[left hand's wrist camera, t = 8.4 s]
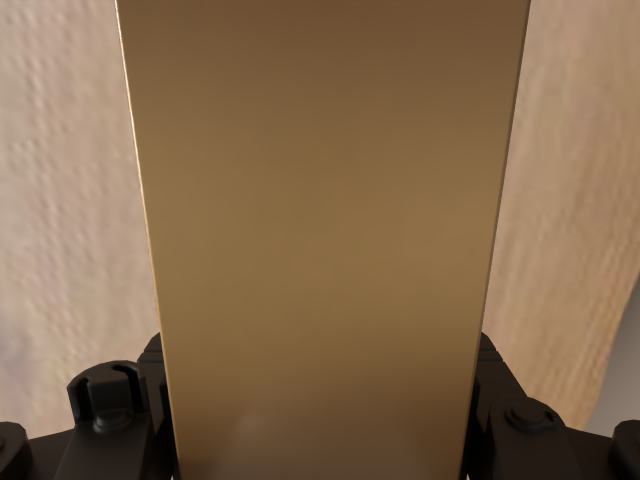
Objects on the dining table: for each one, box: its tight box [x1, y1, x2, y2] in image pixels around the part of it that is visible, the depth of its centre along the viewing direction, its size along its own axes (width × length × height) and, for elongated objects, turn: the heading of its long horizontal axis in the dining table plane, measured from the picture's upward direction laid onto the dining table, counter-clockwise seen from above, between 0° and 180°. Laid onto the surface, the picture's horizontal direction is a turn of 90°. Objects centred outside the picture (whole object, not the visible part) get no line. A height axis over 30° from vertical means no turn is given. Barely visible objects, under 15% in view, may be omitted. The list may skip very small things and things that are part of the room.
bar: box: [114, 0, 531, 480], centre depth 9 cm, size 22×4×8 cm, turn 0°
